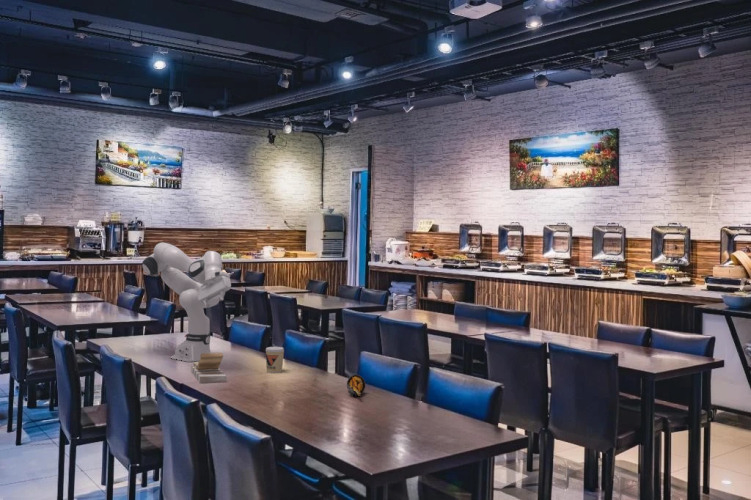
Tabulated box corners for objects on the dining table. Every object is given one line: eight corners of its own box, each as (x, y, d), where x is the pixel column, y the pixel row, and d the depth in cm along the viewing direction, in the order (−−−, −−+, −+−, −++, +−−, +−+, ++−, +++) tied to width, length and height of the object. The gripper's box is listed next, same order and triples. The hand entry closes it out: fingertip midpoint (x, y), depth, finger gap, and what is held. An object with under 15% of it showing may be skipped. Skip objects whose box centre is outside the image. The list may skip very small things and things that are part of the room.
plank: (197, 370, 331) (197, 366, 332) (218, 369, 335) (218, 365, 337) (201, 357, 322) (201, 353, 323) (223, 356, 326) (222, 352, 327)
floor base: (191, 371, 343) (191, 361, 342) (215, 370, 347) (215, 360, 347) (200, 383, 318) (200, 372, 318) (226, 381, 323) (226, 371, 323)
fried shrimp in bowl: (363, 380, 314) (378, 375, 299) (356, 403, 310) (371, 399, 294) (345, 373, 312) (359, 367, 296) (338, 396, 308) (351, 392, 292)
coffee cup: (261, 372, 348) (261, 348, 348) (272, 369, 356) (272, 346, 356) (276, 374, 343) (277, 350, 343) (287, 371, 352) (287, 347, 351)
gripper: (194, 285, 352) (195, 309, 345) (223, 270, 343) (224, 294, 336) (203, 289, 357) (204, 312, 350) (232, 274, 348) (233, 298, 341)
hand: (214, 303), depth 343 cm, fingers open, 8 cm apart
